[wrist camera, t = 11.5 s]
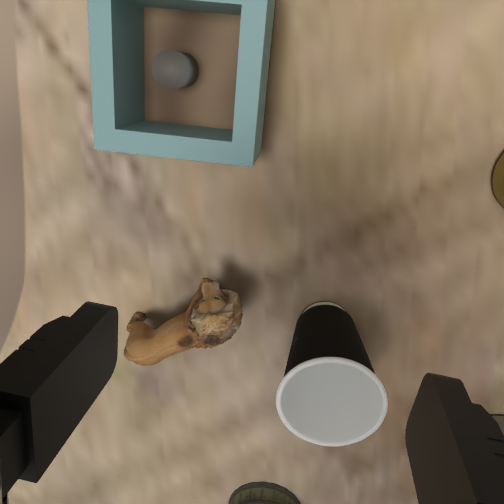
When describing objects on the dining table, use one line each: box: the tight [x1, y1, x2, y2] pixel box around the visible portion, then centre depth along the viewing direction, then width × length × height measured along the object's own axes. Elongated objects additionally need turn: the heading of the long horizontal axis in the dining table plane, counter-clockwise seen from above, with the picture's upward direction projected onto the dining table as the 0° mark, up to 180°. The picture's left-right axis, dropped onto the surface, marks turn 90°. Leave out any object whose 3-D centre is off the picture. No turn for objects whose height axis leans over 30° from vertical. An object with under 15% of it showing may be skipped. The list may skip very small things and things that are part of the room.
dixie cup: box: [276, 302, 388, 446], centre depth 36 cm, size 8×8×11 cm
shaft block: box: [144, 7, 241, 130], centre depth 32 cm, size 12×12×4 cm
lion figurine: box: [124, 278, 243, 366], centre depth 38 cm, size 15×5×9 cm, turn 128°
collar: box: [87, 0, 275, 167], centre depth 30 cm, size 11×11×6 cm
